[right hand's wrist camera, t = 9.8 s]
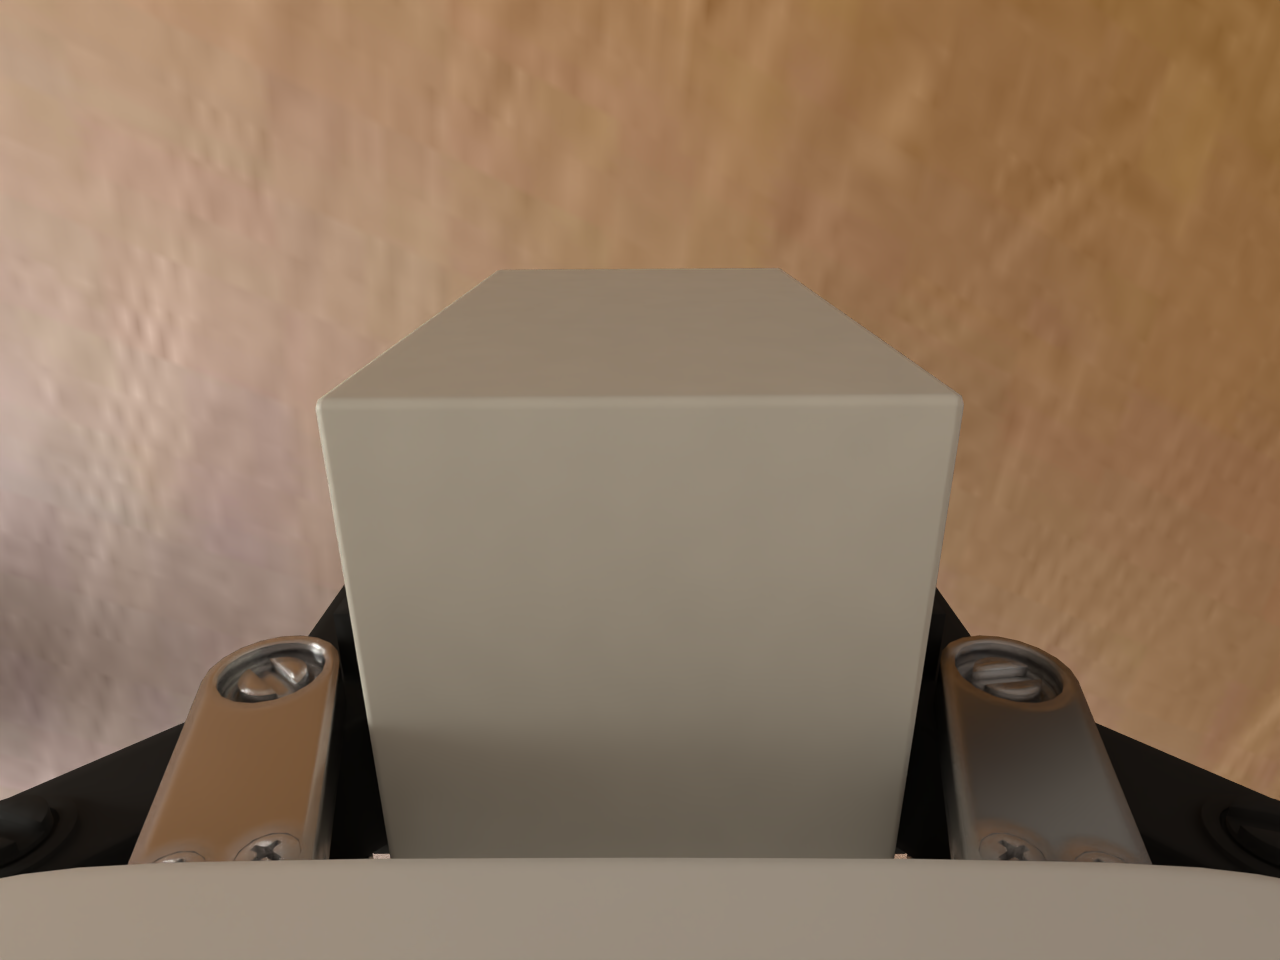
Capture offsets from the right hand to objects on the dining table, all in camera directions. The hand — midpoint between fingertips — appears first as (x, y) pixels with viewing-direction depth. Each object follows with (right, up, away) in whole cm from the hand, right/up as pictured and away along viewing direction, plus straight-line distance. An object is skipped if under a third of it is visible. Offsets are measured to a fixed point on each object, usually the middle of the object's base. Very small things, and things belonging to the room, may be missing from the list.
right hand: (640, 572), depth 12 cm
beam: (0, -20, +11) cm, 23 cm away
